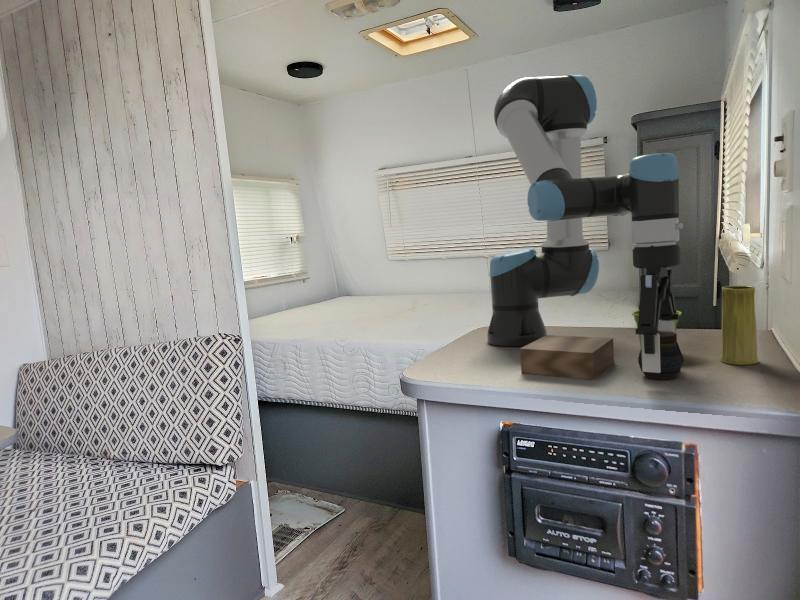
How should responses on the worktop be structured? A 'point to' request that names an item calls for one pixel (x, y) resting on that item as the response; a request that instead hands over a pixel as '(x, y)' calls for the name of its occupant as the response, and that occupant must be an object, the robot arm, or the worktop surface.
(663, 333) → the mate gourd
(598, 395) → the worktop surface
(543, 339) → the walnut block
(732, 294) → the vase
